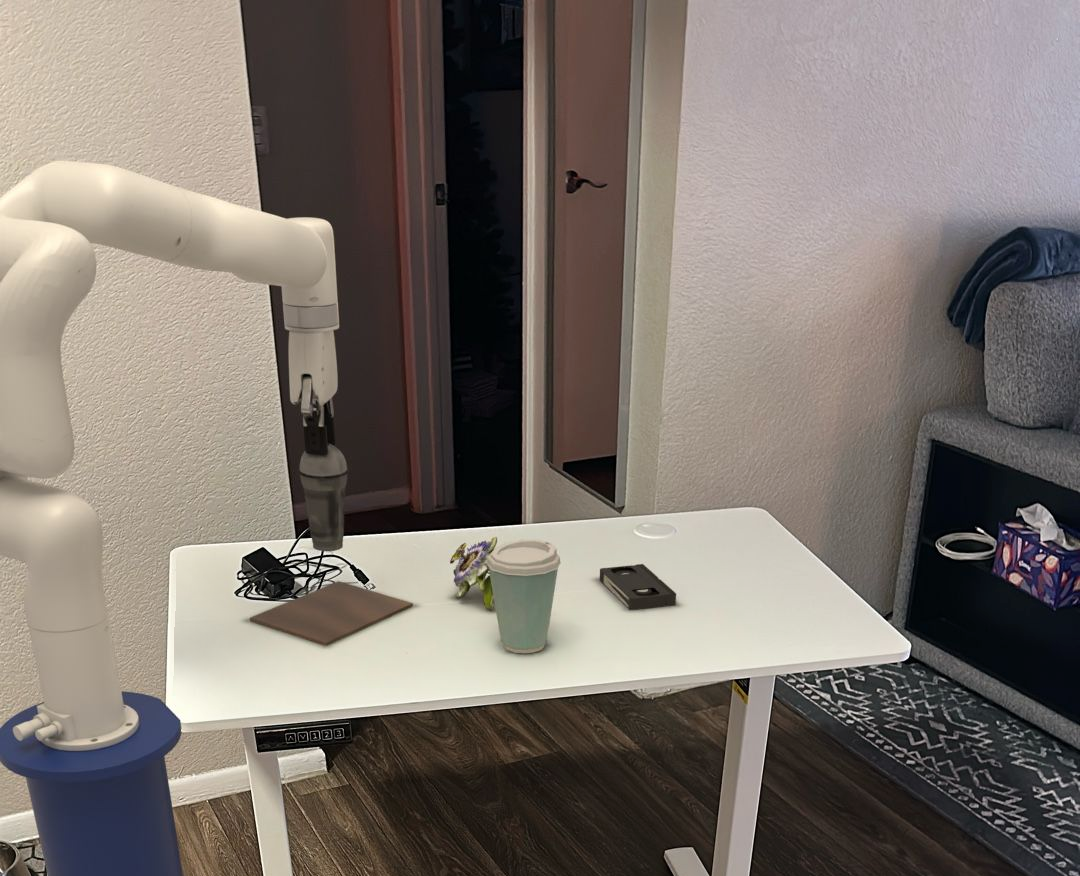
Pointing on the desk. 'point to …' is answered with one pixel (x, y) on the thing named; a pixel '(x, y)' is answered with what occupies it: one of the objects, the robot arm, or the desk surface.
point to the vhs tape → (637, 587)
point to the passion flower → (474, 569)
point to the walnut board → (331, 613)
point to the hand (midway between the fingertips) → (320, 448)
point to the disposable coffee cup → (523, 592)
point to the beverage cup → (325, 497)
